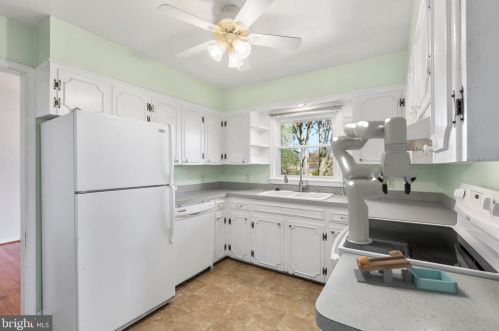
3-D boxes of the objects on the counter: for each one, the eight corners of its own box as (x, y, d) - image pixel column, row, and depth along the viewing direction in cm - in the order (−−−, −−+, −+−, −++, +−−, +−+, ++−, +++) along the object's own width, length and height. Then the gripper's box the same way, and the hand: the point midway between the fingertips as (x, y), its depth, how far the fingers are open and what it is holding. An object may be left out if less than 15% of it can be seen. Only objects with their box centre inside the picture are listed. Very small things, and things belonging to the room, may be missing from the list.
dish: (406, 275, 82) (406, 266, 82) (441, 279, 79) (441, 269, 79) (417, 289, 73) (417, 279, 73) (457, 293, 70) (457, 283, 70)
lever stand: (353, 270, 87) (353, 257, 87) (406, 275, 82) (406, 262, 82) (357, 281, 78) (357, 267, 78) (417, 288, 73) (416, 273, 73)
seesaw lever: (355, 260, 92) (353, 251, 92) (400, 255, 87) (398, 246, 87) (360, 274, 79) (358, 264, 79) (414, 270, 75) (411, 259, 75)
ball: (363, 265, 83) (356, 258, 84) (370, 259, 83) (363, 252, 83) (364, 269, 80) (358, 261, 81) (372, 263, 79) (365, 256, 80)
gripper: (417, 148, 93) (417, 193, 93) (369, 150, 98) (369, 192, 98) (425, 147, 86) (426, 195, 86) (373, 149, 91) (373, 194, 91)
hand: (396, 193), depth 92 cm, fingers open, 6 cm apart
